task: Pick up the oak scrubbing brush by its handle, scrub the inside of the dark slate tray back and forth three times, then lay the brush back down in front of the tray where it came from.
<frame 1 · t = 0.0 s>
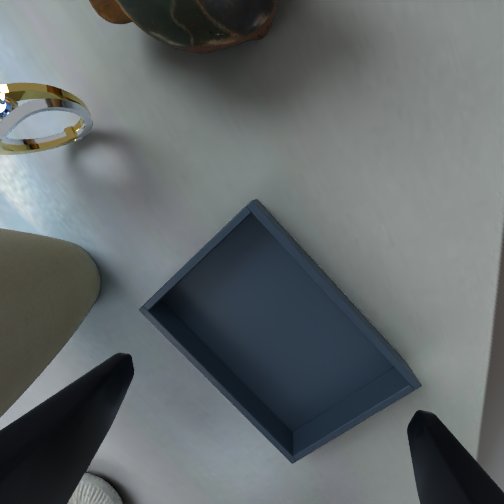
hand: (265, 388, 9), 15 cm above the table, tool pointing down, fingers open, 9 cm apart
fossil: (93, 499, 34), on the table
decorative turtle: (215, 2, 20), on the table
ring: (80, 136, 24), on the table
tray: (276, 327, 25), on the table
plant pot: (68, 274, 27), on the table
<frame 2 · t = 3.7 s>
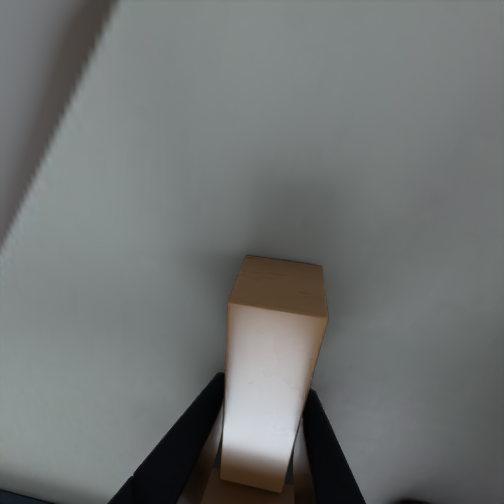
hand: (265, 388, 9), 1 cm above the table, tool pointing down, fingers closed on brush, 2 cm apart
brush: (262, 401, 11), on the table, touching gripper
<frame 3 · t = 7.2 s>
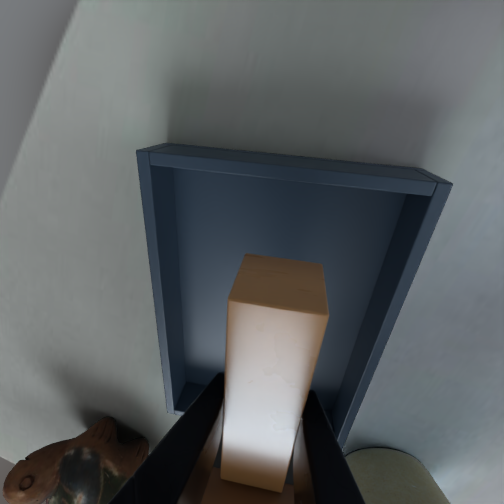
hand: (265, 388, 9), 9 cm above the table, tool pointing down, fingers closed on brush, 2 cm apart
brush: (262, 401, 11), point 8 cm above the table, touching gripper
decorative turtle: (124, 438, 31), on the table
tray: (269, 303, 19), on the table
plant pot: (378, 467, 25), on the table
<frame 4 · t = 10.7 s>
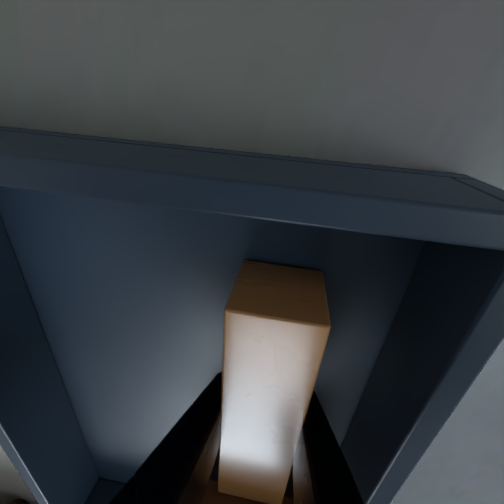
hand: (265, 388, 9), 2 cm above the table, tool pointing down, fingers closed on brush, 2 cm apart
brush: (261, 410, 11), point 1 cm above the table, touching gripper
tray: (200, 386, 12), on the table
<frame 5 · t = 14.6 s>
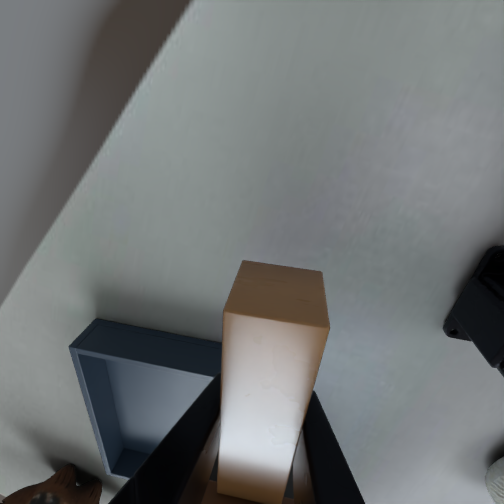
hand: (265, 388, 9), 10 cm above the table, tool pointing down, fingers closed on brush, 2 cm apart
brush: (260, 410, 10), point 9 cm above the table, touching gripper
decorative turtle: (84, 478, 39), on the table
tray: (174, 405, 27), on the table
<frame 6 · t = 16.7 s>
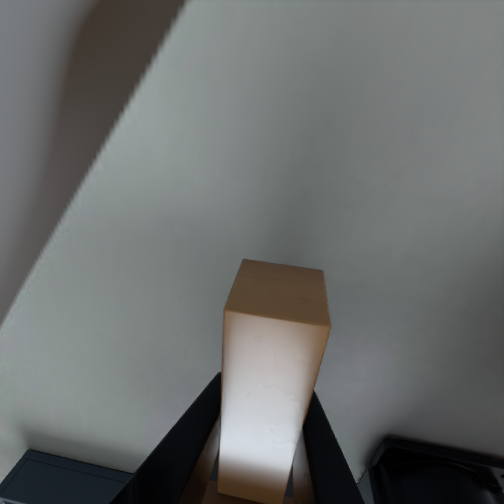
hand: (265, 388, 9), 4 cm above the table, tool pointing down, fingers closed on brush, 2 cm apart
brush: (260, 410, 10), point 3 cm above the table, touching gripper
when the fingers open (1 cm above the table, at t = 17.8 s): brush stays where it is, on the table.
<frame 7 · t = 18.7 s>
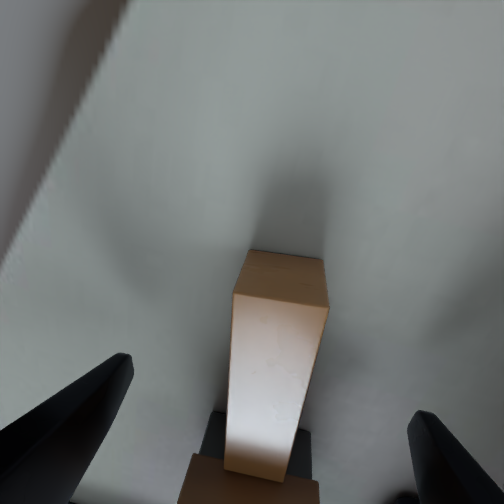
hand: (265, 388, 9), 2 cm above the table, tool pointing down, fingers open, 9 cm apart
brush: (264, 394, 11), on the table
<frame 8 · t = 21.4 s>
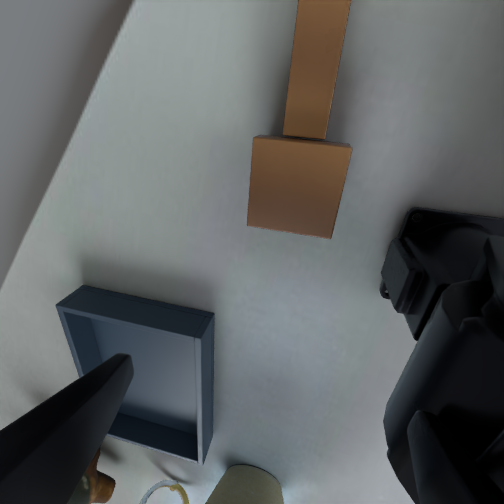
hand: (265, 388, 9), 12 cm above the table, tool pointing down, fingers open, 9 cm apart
brush: (310, 105, 15), on the table
decorative turtle: (85, 444, 42), on the table
ring: (176, 479, 41), on the table
tray: (155, 369, 30), on the table
plant pot: (252, 478, 36), on the table
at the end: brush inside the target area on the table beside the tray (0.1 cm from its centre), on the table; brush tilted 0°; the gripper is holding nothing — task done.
